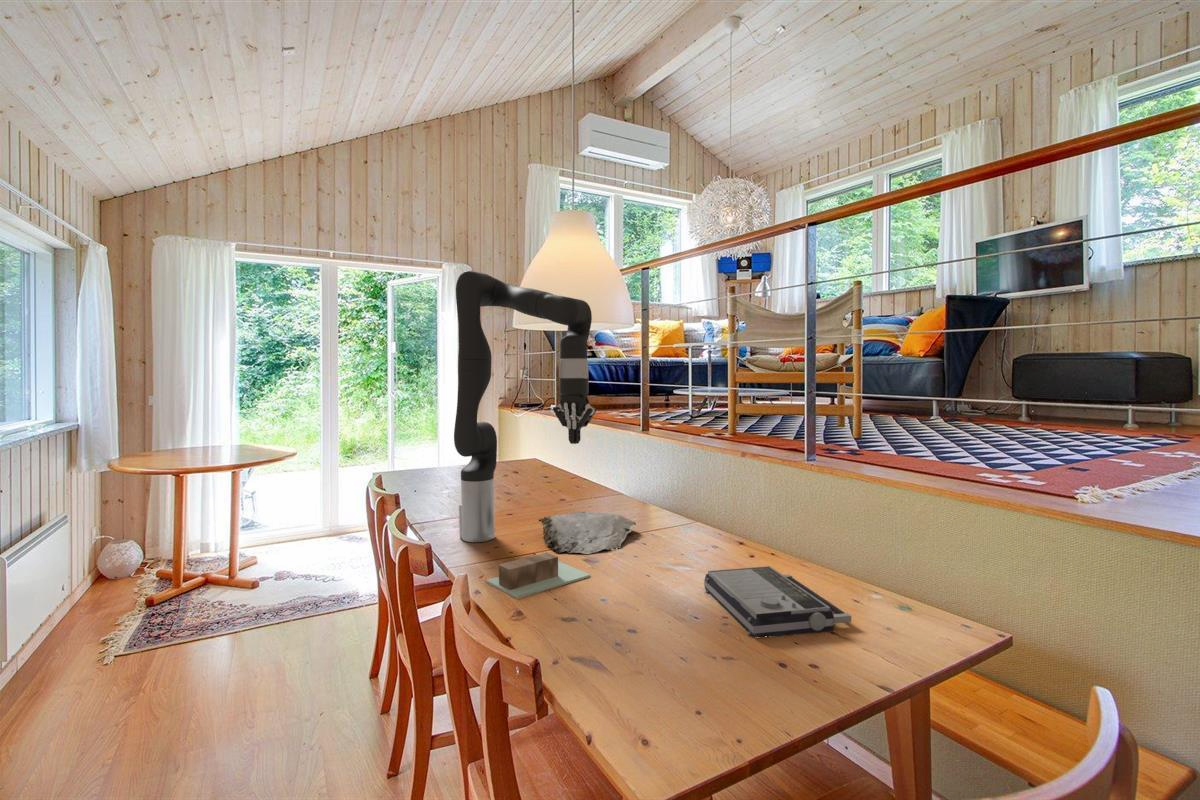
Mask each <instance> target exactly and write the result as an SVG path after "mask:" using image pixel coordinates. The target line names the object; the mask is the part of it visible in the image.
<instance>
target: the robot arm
mask: <svg viewBox="0 0 1200 800" xmlns="http://www.w3.org/2000/svg"><path fill="white" fill-rule="evenodd" d="M455 300H456V301H455V303H456V311H457V323H458V324H457V326H458V327H457V328H458V330H457V331H458V334H457V335H458V338H457V339H458V352H457V354H458V355H457V399H456V400H457V403H456V413H455V422H454V430H453V442H454V443H453V444H454V447H455V450H456V451H457V453H458V455H460V456H462V457H466V458H467V457H468V458H469V457H470V461H469V462H468V463H467V465H466V466H464V467H463V468H462V469H461V470H460V491H461V493H460V494H461V498H460V499H461V500H460V502H461V503H460V504H459V506H458V513H459V515H458V519H459V521H458V522H459V523H458V524H459V526H458V527H459V539H462V540H463V541H464V542H468V543H481V542H488V541H492V540H493V539H495V538H496V532H495V531H496V530H495V529H496V528H495V527H496V525H495V524H496V523H495V522H496V521H495V520H496V519H495V480H494V479H495V471H496V467H497V460H498V459H497V458H498V457H497V452H498V437H497V436H498V435H497V433H496V430H495V428H494V426H493V425H492V424H491V423H489V422H486V421H479V422H478V412H479V407H480V403H481V401H482V398H483V396H484V394H485V393H486V390H487V389H488V386H489V384H490V382H491V378H492V362H493V361H492V350H491V348H490V344H489V342H488V339H487V337H486V335H485V332H484V330H483V325H482V322H481V307H499V308H500V307H501V308H508V309H511V310H515V311H516V312H519V313H521V314H524V315H528V316H531V317H535V318H539V319H543V320H548V321H550V322H553V323H556V324H560V325H563V326H567V331H566V335H564V336H562V337H561V338H560V340H559V341H560V342H559V366H558V367H559V368H558V371H559V376H558V377H559V379H558V380H559V395H560V399H559V404H558V405H557V406H554V407H552V411H553V412H554V415H555V416H556V419H557V420H558V421H559V422H560V424H561V426H562V427H566V428H567V430H568V441H569V443H570V444H572V445H576V444H580V442H581V429H582V428H586V427H587V426H588V425H589V423H590V422H591V420H592V419H593V417H594V416H595V414H596V412H597V408H596V407H593V406H591V405H590V401H589V398H588V395H589V393H590V391H589V383H590V382H589V381H590V379H589V363H588V339H589V336H590V331H591V327H592V321H593V319H592V316H593V315H592V310H591V307H590V305H589V304H588V302H586V301H585V300H584V299H583V300H582V299H580V298H579V299H578V298H574V297H570V296H569V297H568V296H563V295H557V294H553V293H551V292H548V291H544V290H539V289H534V288H529V287H522V286H515V285H512V284H509V283H506V282H503V281H502V280H499V279H497V278H496V277H493V276H492V275H489V274H487V273H483V272H478V271H474V270H464V271H463V272H462V273H460V274H459V276H458V278H457V280H456V284H455Z"/></svg>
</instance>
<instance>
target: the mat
mask: <svg viewBox="0 0 1200 800" xmlns="http://www.w3.org/2000/svg"><path fill="white" fill-rule="evenodd" d="M584 578H585V579H588V578H591V574H589V573H587V572H585V571H583V570H581V569H578V568H575V567H573V566H570V565H568V564H566V563H563V562H561V561H560V560H558V576H557V577H553V578H550V579H546V580H543V581H540V582H536V583H533V584H529V585H526V586H522V587H519V588H516V589H512V590H509V589H507V588H505V587H503V586H501V585H499V576H495V577H492V578H488V579H486V580H485V582H486V583H487V584H489V585H490V586H493V587H494V588H495V589H498V590H500V591H502V592H504V593H505V594H507V595H509V596H511V597H513V598H515V599H516V600H518V599H520V598H524V597H527V596H530V595H534V594H538V593H540V592H545V591H547V590H551V589H554V588H557V587H561V586H564V585H568V584H571V583H574V582H575V583H576V582H578V581H581V580H584Z"/></svg>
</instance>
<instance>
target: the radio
mask: <svg viewBox="0 0 1200 800" xmlns="http://www.w3.org/2000/svg"><path fill="white" fill-rule="evenodd" d="M703 581H704V583H703V585H704V589H705V593H707V594H709V595H710V596H711V597H712V598H713V599H714V600H715V601H716V602H718V604H719V605H720V606H721V607H722V608H723V609H724V610H725V611H726V612H727V613H729V615H730V616H731V617H732V616H733V617H732V618H733V619H734V620H735V621H736V622H737V623H738V624H739V625H740V626H741V627H743V628H744V629H745V631H747V633H746V634H747V635H748V636H752V638H753V639H755V637H765V636H767V638H770V637H769V636H777V637H783V636H782V635H786V636H795V635H794V634H796V635H804V634H805V635H806V634H814V633H823V632H833V631H834V627H835V624H843V623H852V615H851V614H850V613H848V612H844V611H843V610H841V609H840V608H838V607H837V606H836V605H835V604H832V603H831V602H829V601H828V600H827V599H825V598H823V597H822V596H821V595H819V594H817V593H816V592H814V590H811V589H810V588H808V587H807V586H805V585H804V584H803V583H801V582H800V581H798V580H796V579H795V578H793V576H792V575H791V574H790V573H789V574H782V573H781V572H779V571H778V570H776V569H774V567H771V566H770V565H767V566H766V565H765V566H754V567H743V568H741V567H740V568H729V569H728V568H727V569H717V570H716V569H715V570H708V571H707V573H706V574H705V577H704V580H703Z"/></svg>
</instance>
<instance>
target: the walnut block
mask: <svg viewBox="0 0 1200 800" xmlns="http://www.w3.org/2000/svg"><path fill="white" fill-rule="evenodd" d="M558 561H559V557H558V556H557V555H554V554H552V553H550V552H542V553H538V554H534V555H531V556H527V557H523V558H519V559H516V560H512V561H507V562H504V563H500V564H498V577H499V585H501V586H503V587H505V588H507V589H509V590H512V589H516V588H519V587H522V586H526V585H529V584H533V583H536V582H540V581H543V580H546V579H550V578H553V577H557V576H558Z"/></svg>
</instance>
